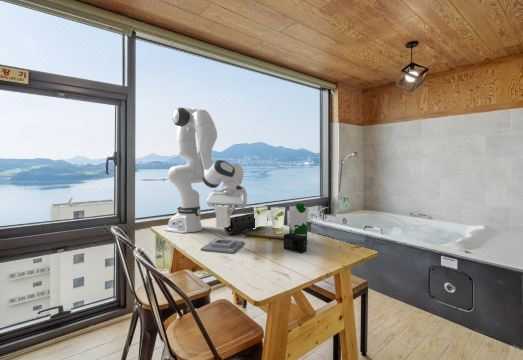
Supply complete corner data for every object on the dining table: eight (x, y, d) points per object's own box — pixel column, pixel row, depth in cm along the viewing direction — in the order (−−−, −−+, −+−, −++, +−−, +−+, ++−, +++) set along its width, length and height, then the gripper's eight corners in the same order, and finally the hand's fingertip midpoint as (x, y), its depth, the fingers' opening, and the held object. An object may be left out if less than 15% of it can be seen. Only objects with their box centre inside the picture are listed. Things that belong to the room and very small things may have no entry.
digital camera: (281, 249, 131) (281, 235, 130) (287, 246, 135) (288, 232, 135) (300, 254, 125) (301, 239, 124) (306, 251, 129) (306, 236, 128)
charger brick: (216, 226, 132) (216, 205, 132) (219, 224, 136) (219, 204, 136) (227, 227, 131) (226, 206, 130) (230, 225, 135) (229, 204, 134)
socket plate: (200, 250, 129) (200, 245, 129) (215, 240, 144) (215, 236, 144) (232, 253, 125) (232, 248, 125) (244, 243, 140) (244, 238, 140)
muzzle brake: (223, 234, 157) (223, 216, 156) (257, 225, 177) (257, 209, 176) (234, 237, 151) (234, 219, 150) (268, 228, 171) (268, 211, 170)
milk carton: (293, 244, 139) (293, 205, 137) (287, 239, 147) (287, 202, 146) (309, 243, 141) (310, 204, 139) (302, 238, 150) (302, 201, 148)
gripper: (209, 186, 142) (200, 208, 133) (247, 187, 136) (240, 210, 128) (213, 194, 146) (205, 216, 138) (250, 195, 141) (244, 218, 132)
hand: (222, 213), depth 133 cm, fingers closed on charger brick, 5 cm apart
